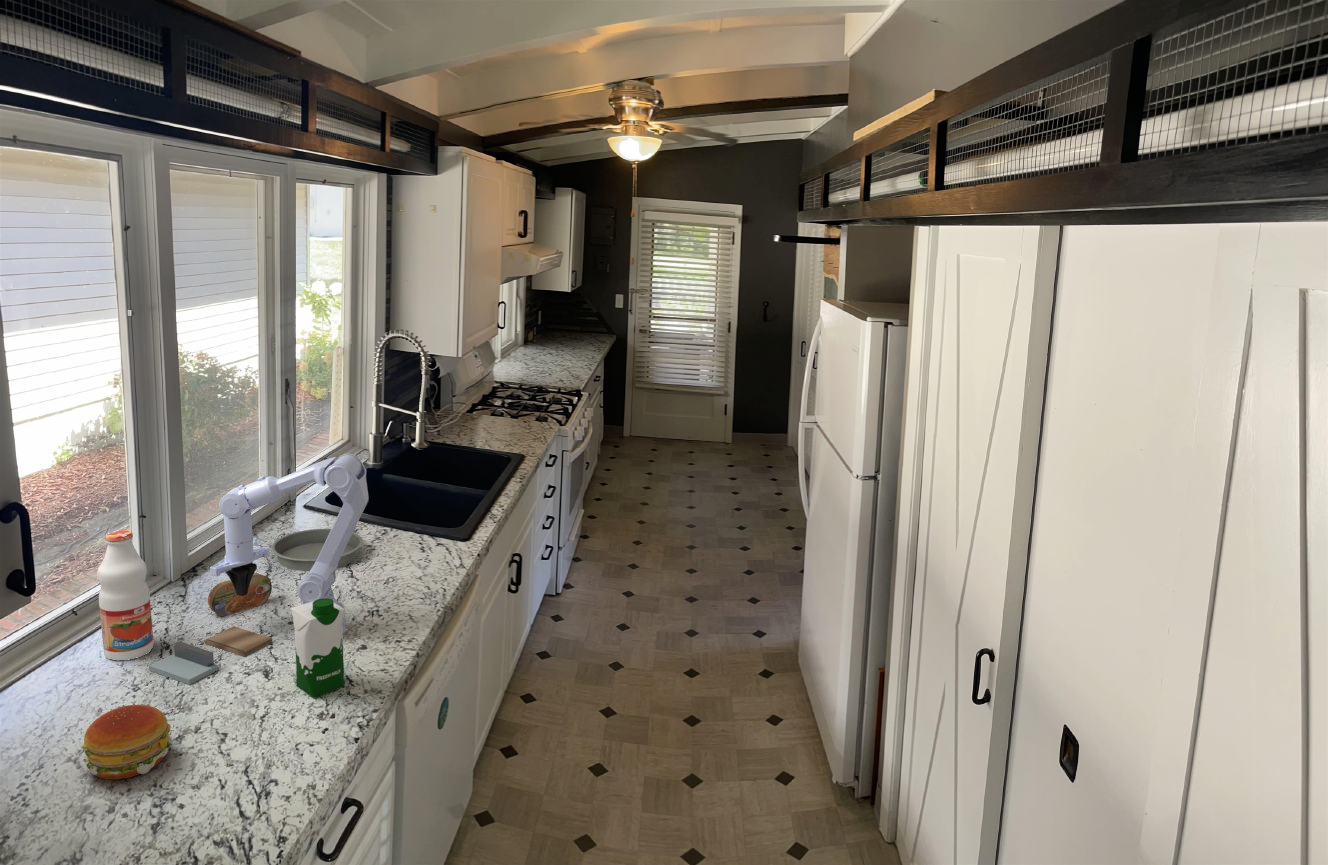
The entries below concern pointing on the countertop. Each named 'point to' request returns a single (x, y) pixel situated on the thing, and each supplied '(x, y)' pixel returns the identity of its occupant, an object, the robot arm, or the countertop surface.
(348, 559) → the cake pan
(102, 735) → the burger
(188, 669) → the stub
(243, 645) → the board
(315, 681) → the milk carton
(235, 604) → the tin
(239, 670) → the countertop surface
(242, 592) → the robot arm
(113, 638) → the fruit juice
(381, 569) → the countertop surface
